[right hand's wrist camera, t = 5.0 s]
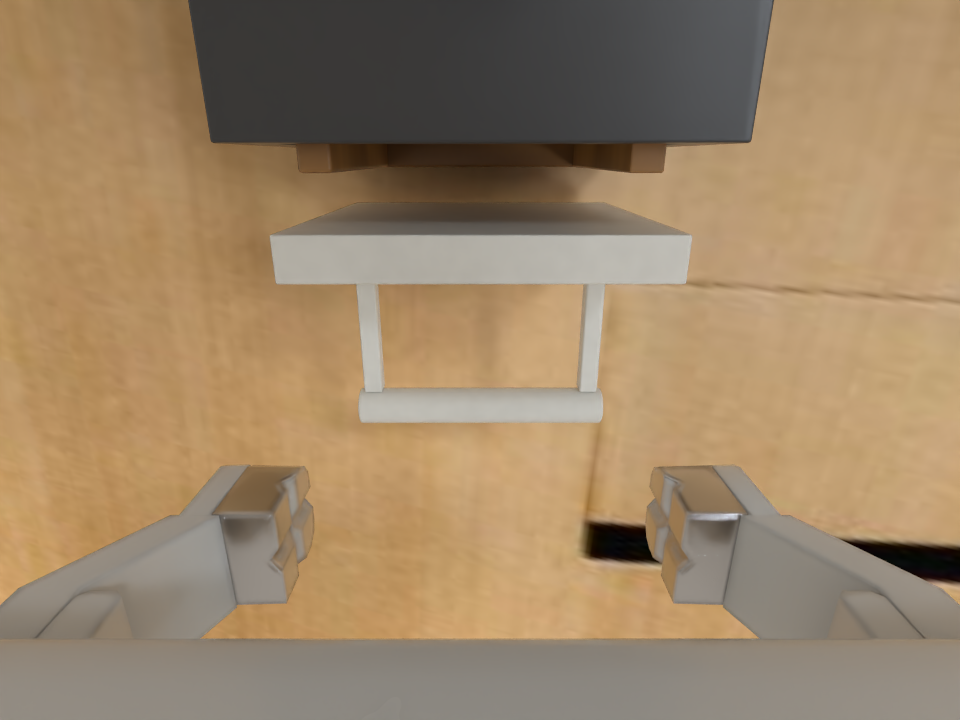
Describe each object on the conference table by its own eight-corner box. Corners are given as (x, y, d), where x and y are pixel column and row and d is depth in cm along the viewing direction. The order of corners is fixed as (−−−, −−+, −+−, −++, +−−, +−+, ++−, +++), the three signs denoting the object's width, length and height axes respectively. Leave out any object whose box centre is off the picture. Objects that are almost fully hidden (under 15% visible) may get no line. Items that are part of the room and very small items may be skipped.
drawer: (592, 364, 24) (659, 488, 15) (368, 364, 24) (302, 487, 15) (634, -179, 18) (796, -529, 9) (326, -179, 18) (166, -529, 9)
